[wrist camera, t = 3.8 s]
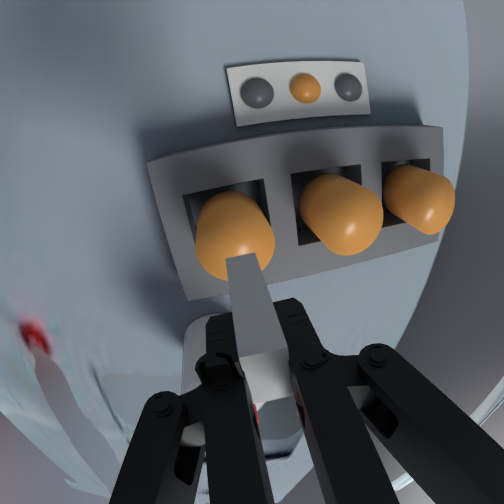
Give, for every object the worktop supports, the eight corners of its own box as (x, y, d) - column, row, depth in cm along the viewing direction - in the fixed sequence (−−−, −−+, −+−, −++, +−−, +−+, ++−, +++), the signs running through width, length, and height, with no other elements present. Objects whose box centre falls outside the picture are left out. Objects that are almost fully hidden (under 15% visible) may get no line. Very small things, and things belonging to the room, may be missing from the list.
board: (189, 283, 26) (187, 301, 23) (154, 157, 21) (146, 162, 18) (421, 230, 27) (437, 240, 25) (423, 124, 22) (442, 127, 19)
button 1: (383, 220, 23) (411, 239, 19) (382, 166, 21) (415, 177, 17) (421, 212, 24) (451, 229, 20) (423, 162, 21) (456, 173, 17)
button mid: (301, 237, 23) (321, 262, 19) (295, 178, 21) (316, 191, 17) (355, 225, 23) (382, 247, 19) (353, 169, 21) (383, 181, 17)
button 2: (205, 257, 22) (205, 287, 18) (190, 198, 20) (186, 217, 16) (266, 244, 23) (279, 272, 19) (256, 184, 20) (269, 200, 16)
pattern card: (236, 126, 21) (237, 126, 20) (226, 69, 18) (226, 67, 18) (368, 114, 21) (372, 114, 21) (361, 63, 19) (364, 62, 18)
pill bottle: (232, 369, 32) (243, 446, 22) (173, 350, 30) (168, 433, 20) (266, 327, 30) (290, 410, 20) (202, 302, 27) (204, 392, 17)
